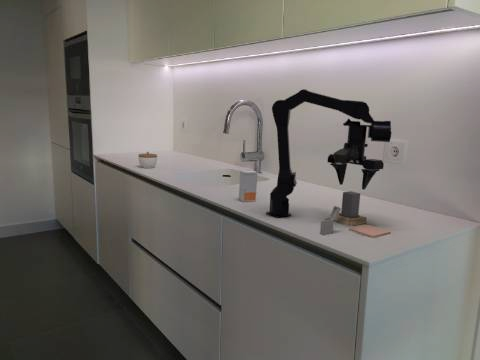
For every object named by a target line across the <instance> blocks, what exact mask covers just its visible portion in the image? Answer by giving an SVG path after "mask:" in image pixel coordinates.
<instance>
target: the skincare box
mask: <svg viewBox="0 0 480 360" xmlns="http://www.w3.org/2000/svg"><path fill="white" fill-rule="evenodd" d="M238 185H239V187H238V201H240V202H242V203H244V202H256V201H257V189H258V187H257V185H258V171H255V170H239V184H238Z"/></svg>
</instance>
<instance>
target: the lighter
mask: <svg viewBox="0 0 480 360" xmlns="http://www.w3.org/2000/svg"><path fill="white" fill-rule="evenodd" d="M341 210H342V207H340V206H336V205H333V207H332V210H331V214H330V215H326V216H324V218H323V219H321V220H320V231H319V234H320V235H323V236H326V235H330V234H333V233H334V224H335V223H334V222H336V220H337V218H338V215H339V213H341ZM334 220H335V221H334Z"/></svg>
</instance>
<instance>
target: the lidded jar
mask: <svg viewBox="0 0 480 360" xmlns="http://www.w3.org/2000/svg"><path fill="white" fill-rule="evenodd" d="M157 160H158V155H157V154H156V153H149V151H146V153H139V154H138V163H139V166H141V168H142V169H153V168H154V167H155V166H156V165H157Z"/></svg>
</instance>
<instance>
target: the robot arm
mask: <svg viewBox="0 0 480 360" xmlns="http://www.w3.org/2000/svg"><path fill="white" fill-rule="evenodd" d="M303 103H309V104H312V105H316V106H320V107H323V108H328V109H331V110H334V111H338V112H339V113H342V114H344V115H346V116H349V117H351V118H352V119H355V120H356V121H355V120H351V119H350V118H347V120H346V121H344V122H342V125H343V126H344V127H348V130H347V131H348V132H347V142H344V144H343V148H340V149H338V150H336V151H334V152H333V153H330V154H328V156H327V163H330V164H329V165H330V166H332V167H333V168H334V169H335V172H336V175H337V180H338V182H339V185H340V186H342V185H343V184H344V181H345V176H346V172H347V166H348V164H351V165H358V166H362V168H361V172H362V181H361V182H362V183H361V189H362V190H366V189H367V187H368V185H369V183H370V181H371V180H372V178H373V177H374V175H376V174H377V172H380V170H384V166H385V165H384V164H385V163H384V162H383V160H382V159H376V158H367V156H366V155H365V151H366V150H365V149H366V148H368V144H369V143H366V142H367V141H366V139H367V138H368V139H370V141H371V142H381V143H382V142H383V143H390V141H391V139H392V122H391V120H384V121H383V120H382V121H381V120H374V118H373V116H371V114H370V107H369V105H368V103H367V102H365V101H363V100H361V101H360V100H348V99H339V98H337V97H332V96H328V95H325V94H320V93H317V92H315V91H310V90H307V89H301V90H299V91H298V92H297V93H295V94H292V95H290V96H289V97H287V98H285V99H278V100H276V101H274V103H273V104H272V105H271V111H272V116H273V119H274V123H275V126H276V127H275V128H276V133H277V134H276V135H277V148H278V149H277V153H278V174H277V182H276V186H274V188H273V189H272V191H270V193H269V196H270V197H269V198H270V199H269V211H266V213H265V215H269V216H271V217H275V218H278V219H280V218H285V217H290V216H292V213H289V212H290V211H289V210H290V203H289V201H290V198H288V196H290V195H291V194H292V193H293V192H294V189H295V187H297V184H298V181H297V177H296V175H297V172H296V171H295V172H293V170H292V168H291V167H292V166H291V152H290V151H291V150H290V133H289V127H290V126H289V125H290V124H289V123H290V118H291V111H292V110H293V109H295V108H297V107H299V106H301V105H302V104H303ZM357 120H361V121H362V122H364V123H366V124H361V121H357ZM369 124H370V125H369ZM367 128H368V130H367Z"/></svg>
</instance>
